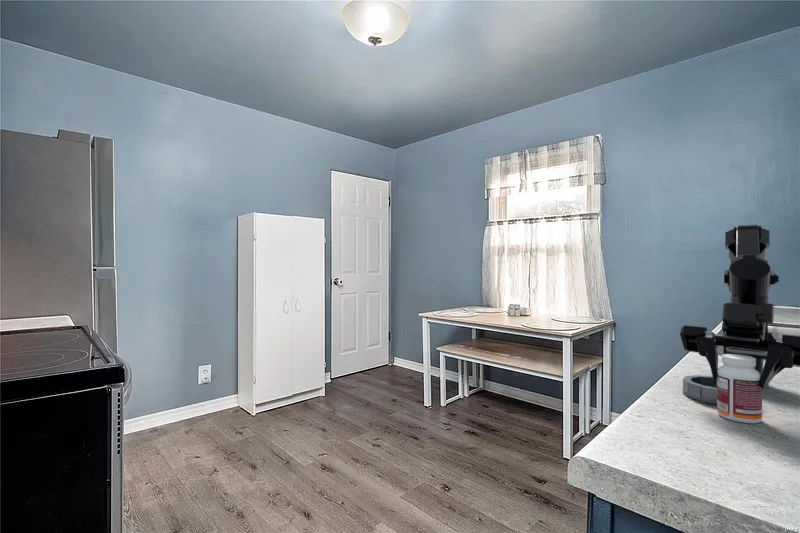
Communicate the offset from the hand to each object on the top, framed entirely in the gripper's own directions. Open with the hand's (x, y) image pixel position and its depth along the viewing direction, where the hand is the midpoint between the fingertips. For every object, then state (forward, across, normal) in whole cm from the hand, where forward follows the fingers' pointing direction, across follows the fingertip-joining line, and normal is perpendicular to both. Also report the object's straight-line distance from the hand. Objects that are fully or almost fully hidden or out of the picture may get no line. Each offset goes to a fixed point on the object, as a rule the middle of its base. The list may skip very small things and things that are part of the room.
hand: (737, 382), depth 71 cm
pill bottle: (+4, 0, +6) cm, 7 cm away
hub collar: (-3, -5, +13) cm, 14 cm away
